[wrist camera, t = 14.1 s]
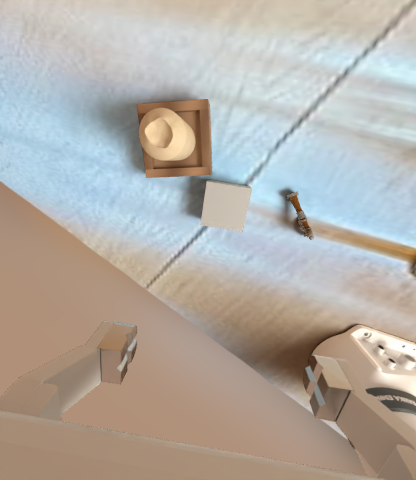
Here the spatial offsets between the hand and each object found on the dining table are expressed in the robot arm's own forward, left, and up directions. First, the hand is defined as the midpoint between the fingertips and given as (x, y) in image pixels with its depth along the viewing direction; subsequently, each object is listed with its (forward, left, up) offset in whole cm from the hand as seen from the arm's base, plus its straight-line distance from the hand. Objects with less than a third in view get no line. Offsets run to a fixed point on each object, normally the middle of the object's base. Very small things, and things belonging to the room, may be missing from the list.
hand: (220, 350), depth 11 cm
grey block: (0, -1, -31) cm, 31 cm away
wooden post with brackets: (-13, -1, -32) cm, 34 cm away
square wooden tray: (+9, -10, -31) cm, 34 cm away
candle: (+9, -10, -28) cm, 31 cm away
